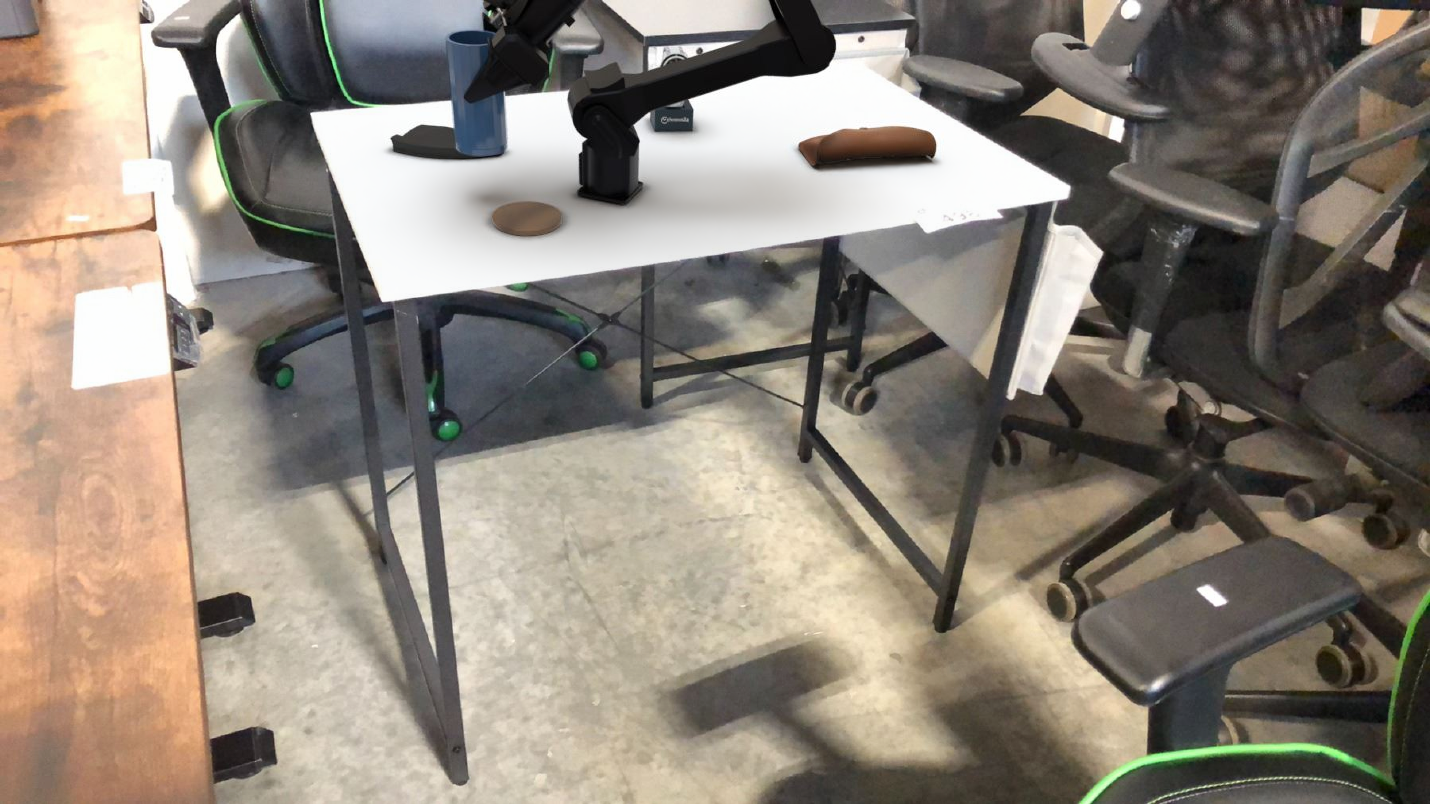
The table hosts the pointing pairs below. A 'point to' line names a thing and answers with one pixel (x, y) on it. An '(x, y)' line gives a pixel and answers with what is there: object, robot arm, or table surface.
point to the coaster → (526, 218)
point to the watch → (676, 114)
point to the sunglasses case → (868, 144)
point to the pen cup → (484, 120)
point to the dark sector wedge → (429, 142)
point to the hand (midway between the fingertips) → (465, 90)
